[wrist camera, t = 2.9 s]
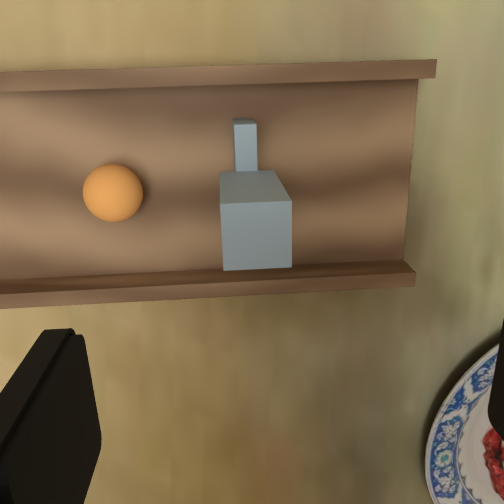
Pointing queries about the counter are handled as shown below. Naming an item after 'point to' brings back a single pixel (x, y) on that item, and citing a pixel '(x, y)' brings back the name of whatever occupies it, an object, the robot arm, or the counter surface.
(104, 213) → the ball
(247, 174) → the grey block with post
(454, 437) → the ceramic plate
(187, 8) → the counter surface
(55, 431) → the robot arm
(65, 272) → the lane
